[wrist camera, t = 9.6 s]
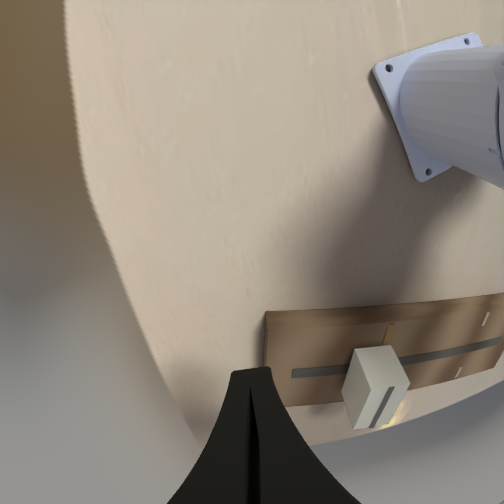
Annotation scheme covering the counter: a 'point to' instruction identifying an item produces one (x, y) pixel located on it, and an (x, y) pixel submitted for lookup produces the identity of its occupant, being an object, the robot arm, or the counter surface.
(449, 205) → the counter surface
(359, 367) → the fader knob
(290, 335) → the fader board
